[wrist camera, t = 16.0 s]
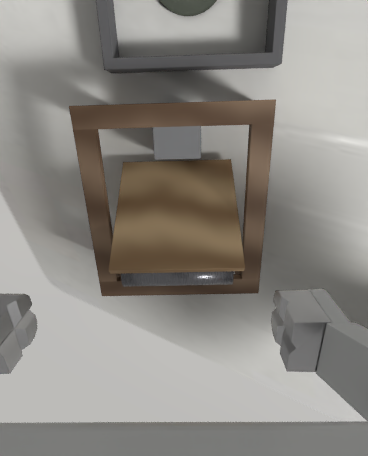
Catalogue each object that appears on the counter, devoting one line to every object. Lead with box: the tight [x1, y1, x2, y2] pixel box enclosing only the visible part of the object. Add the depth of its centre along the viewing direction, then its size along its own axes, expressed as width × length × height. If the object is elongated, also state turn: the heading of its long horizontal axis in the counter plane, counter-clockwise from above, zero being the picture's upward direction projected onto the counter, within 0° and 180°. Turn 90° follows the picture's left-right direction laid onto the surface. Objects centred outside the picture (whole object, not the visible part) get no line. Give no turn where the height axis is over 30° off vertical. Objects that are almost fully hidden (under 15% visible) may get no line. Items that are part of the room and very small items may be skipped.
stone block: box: [153, 126, 201, 160], centre depth 32 cm, size 5×5×5 cm
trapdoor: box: [109, 159, 245, 287], centre depth 32 cm, size 15×13×3 cm
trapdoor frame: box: [69, 100, 276, 296], centre depth 33 cm, size 21×18×8 cm
